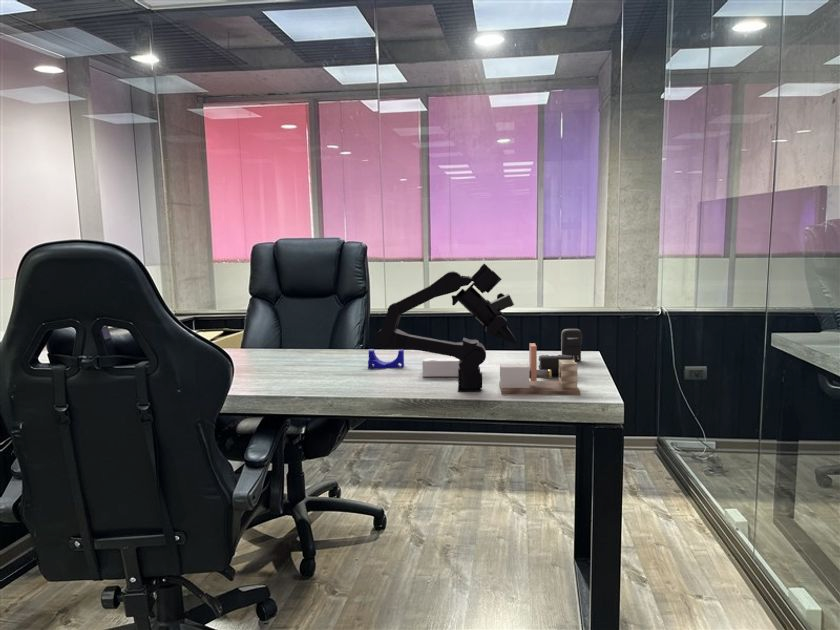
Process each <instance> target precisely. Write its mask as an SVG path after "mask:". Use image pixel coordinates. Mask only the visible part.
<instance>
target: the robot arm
mask: <svg viewBox="0 0 840 630" xmlns="http://www.w3.org/2000/svg"><path fill="white" fill-rule="evenodd" d="M501 281H502V278H501V277H500V276H499V275H498V274H497V273H496V272H495V271H494V270H492V269H491V268H490V267H489V266H488V265H487V264H486V263H482V265H481V266H480V267H479V269H478V270H477V271H476V272H475V273H474V274H473V275H472V276H470V275H468V276H465V275H461V274H460V273H459V272H457V271H455V270H451V271H448V272H446V273H445V274H443V276H441V277H439V278H438V279H437V280H436V281H435V282H433V283H431V284H430V285H428V286H427V287H424V288H422V289H421V290H418V291H417V292H415V293H412V294H410V295H408V296H407V297H405V298H403V299H400V300H399V301H397V302H393V303H391V304H390V305H389V306H388V307H387V312H386V315H385V316H384V317H385V318H384V321H383V323H382V326H381V328H380V329H379V330H378V331H377V332H376V334H375V337H374V340H375V344H376V346H378V347H379V349H382V350H402V349H408V350H409V349H410V350H414V351H420V352H421V351H422V352H427V353H430V354H431V353H432V354H436V355H437V354H438V355H443V356H447V357H451V358H457V359H459V367H458V376H457V378H458V379H457V381H458V386H457V391H458V392H481V389H483V372H482V371H481V367H480V365H482V364H483V363H484V362H485V361H486V359H487V353H486V348H485V346H484V344H483V343H481V342H479V341H478V340H477V339H470V338H467V337H463V338H462V341H460V342H458V341H457V342H453V341H449V340H442V339H437V338H436V339H435V338H431V337H426V336H421V335H420V336H419V335H415V334H409V333H407V332H405V331H403V330H401V329H398V325H399V323H400V319H401V315H403V314H405V313H406V312H408V311H411V310H412V309H415V308H416V307H418V306H421V305H422V304H425V303H427V302H428V301H429V302H430V300H433V299H435V298H438V297H441V296H445V295H449V294H452V293H455V292H457V291H458V293H456V294H455V295H454V294H453V295H451V299H452V300H451V301H452V303H451V304H452V306H456V304H458V302H459V304H461V305H462V306H463V307H464V308H465V309H466V310H467V311H468V312H469V313H470V314H471V316H472V317H473V318H475V319H476V320H477V321H479V322H480V324H482V326H483V327H484V329H485V333H486V334H487V335H488V336H489V337H490V338H492V337H496V338H498V339H501V340H503V341H505V342H508V343H511V344H513V345H516V344H517V343H518V340H517V339H516V337H515V336H514V335H513V333H512V332H511V330H510V329H509V328H508V320H507V318H506V317H504V313H503V312H502V311H503V310H505V309H507V308H510V307H513V306H515V303H514V302H513V299H512V296H511V295H510V294H509V293H507V294H504V293H502V292H500V293H497V295H496V299H494V300H493V301H490V300H489V299H486V298H484V296H482V294H484V293H487V294H489V293H490V292H491V291H492V290H493V289H494V288H495V287H496V286H497V285H498V284H499V283H500V282H501ZM465 286H468V287H467V288H466V289H464V288H462V287H465ZM474 286H475V287H474ZM475 288H476V289H475ZM459 290H460V291H459ZM478 291H479V292H478ZM480 292H481V294H480ZM477 341H478V342H477Z"/></svg>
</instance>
